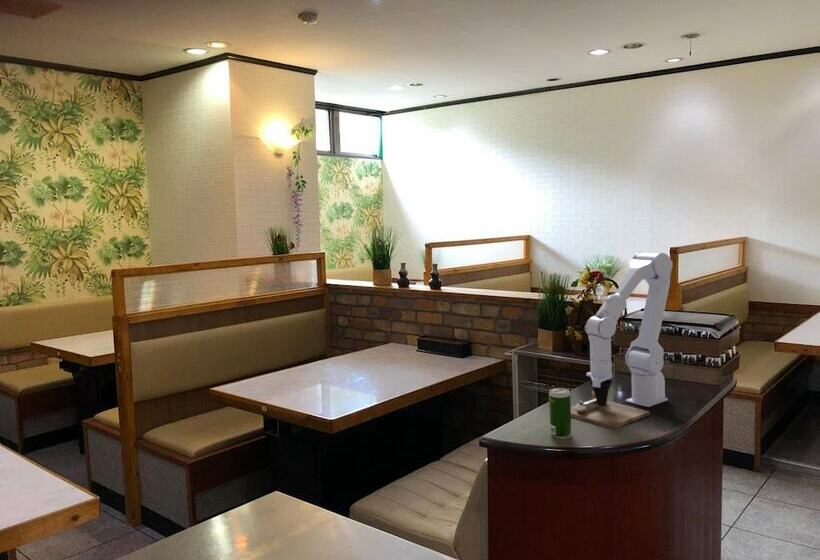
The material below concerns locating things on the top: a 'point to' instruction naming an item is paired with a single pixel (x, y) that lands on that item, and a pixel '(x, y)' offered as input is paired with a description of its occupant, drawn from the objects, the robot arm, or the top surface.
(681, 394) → the top surface
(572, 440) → the top surface
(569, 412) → the beer can
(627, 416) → the board
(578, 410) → the steel link
